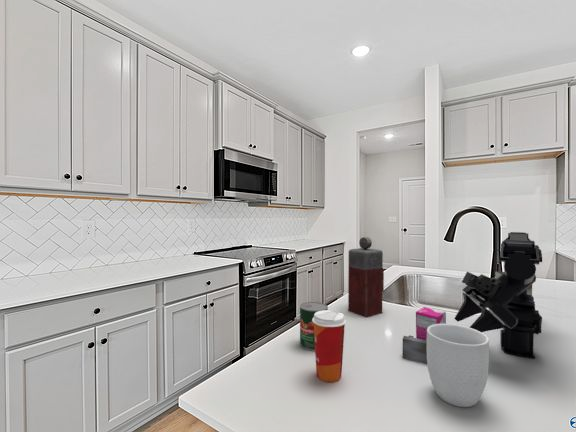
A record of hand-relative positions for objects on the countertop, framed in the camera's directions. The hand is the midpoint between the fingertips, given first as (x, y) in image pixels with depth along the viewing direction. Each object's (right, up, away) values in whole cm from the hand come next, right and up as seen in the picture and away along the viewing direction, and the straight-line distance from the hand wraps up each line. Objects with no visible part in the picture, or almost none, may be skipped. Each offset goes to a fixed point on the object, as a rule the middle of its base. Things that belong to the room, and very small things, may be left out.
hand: (461, 326), depth 78 cm
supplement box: (-7, -8, +1) cm, 11 cm away
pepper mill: (-15, -8, +36) cm, 40 cm away
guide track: (-8, -8, +1) cm, 11 cm away
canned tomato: (-38, -8, +7) cm, 39 cm away
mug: (-10, -8, -16) cm, 21 cm away
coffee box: (+33, -8, +27) cm, 44 cm away
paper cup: (-36, -8, -9) cm, 38 cm away
